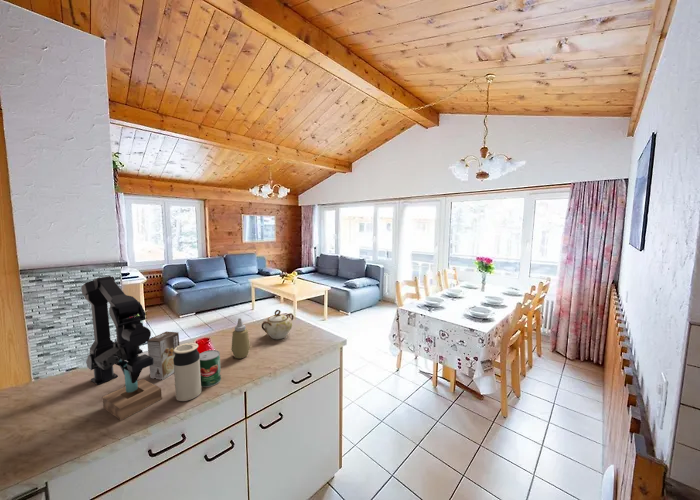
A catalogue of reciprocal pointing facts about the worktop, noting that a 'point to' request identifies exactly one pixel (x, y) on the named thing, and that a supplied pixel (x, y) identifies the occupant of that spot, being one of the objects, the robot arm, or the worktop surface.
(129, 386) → the peg
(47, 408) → the worktop surface
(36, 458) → the worktop surface
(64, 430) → the worktop surface
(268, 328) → the sugar bowl
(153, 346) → the coffee box
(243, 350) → the squeeze bottle
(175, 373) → the travel mug
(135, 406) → the socket block
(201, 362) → the canned tomato
